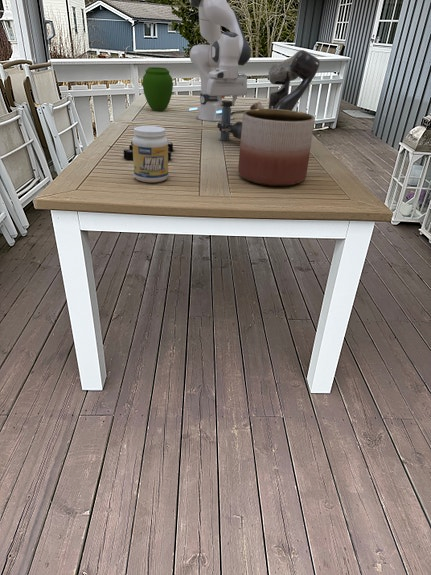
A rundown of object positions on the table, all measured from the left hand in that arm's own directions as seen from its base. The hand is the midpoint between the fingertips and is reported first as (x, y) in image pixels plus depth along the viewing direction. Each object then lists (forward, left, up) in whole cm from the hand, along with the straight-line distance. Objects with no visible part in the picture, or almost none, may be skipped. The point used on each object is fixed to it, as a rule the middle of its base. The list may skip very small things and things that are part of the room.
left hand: (226, 106), depth 195 cm
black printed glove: (+44, +3, -16) cm, 47 cm away
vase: (-15, -87, -16) cm, 89 cm away
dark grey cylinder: (0, 0, -16) cm, 16 cm away
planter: (+24, +57, -16) cm, 64 cm away
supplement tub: (+63, +35, -16) cm, 74 cm away
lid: (0, 0, +2) cm, 2 cm away
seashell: (-65, -45, -16) cm, 81 cm away
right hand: (0, -3, -9) cm, 9 cm away
